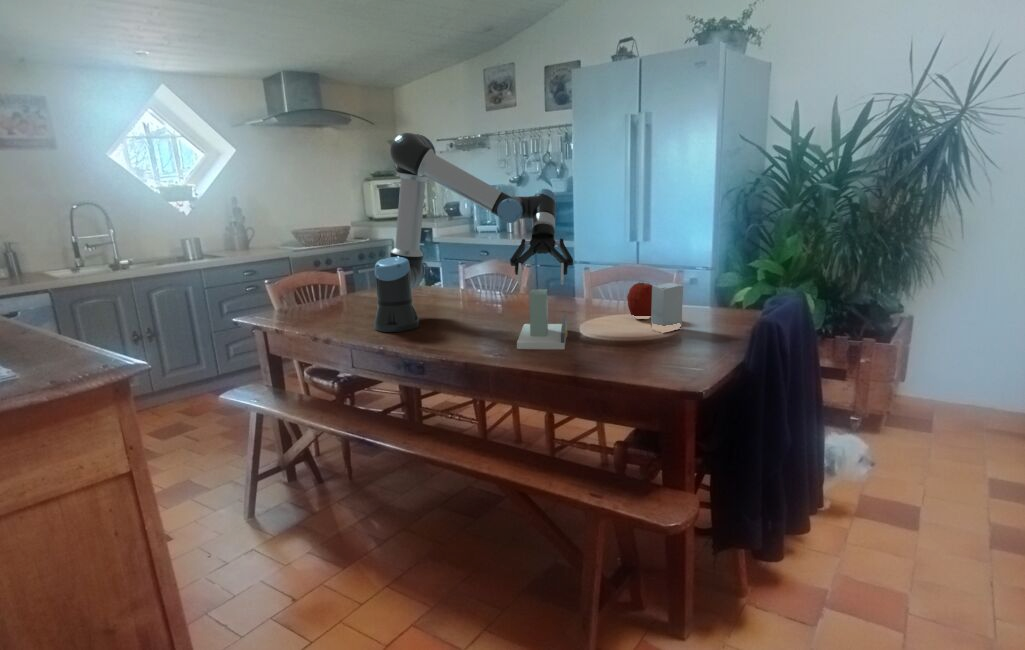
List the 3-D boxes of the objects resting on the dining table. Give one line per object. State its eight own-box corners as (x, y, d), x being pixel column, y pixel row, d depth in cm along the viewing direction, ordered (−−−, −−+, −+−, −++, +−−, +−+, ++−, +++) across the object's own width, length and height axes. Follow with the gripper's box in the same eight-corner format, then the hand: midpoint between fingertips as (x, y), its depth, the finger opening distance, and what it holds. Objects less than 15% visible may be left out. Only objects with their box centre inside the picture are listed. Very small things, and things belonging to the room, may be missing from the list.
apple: (626, 322, 201) (626, 282, 198) (627, 315, 210) (628, 277, 207) (657, 323, 199) (658, 282, 195) (657, 316, 208) (658, 277, 204)
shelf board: (516, 349, 175) (516, 332, 174) (524, 329, 196) (523, 315, 195) (566, 349, 173) (566, 332, 172) (568, 329, 194) (568, 315, 193)
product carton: (530, 336, 181) (529, 294, 177) (532, 329, 188) (531, 289, 185) (547, 336, 180) (546, 294, 177) (548, 329, 188) (547, 289, 185)
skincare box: (669, 326, 194) (670, 281, 191) (682, 330, 189) (684, 284, 186) (649, 330, 191) (650, 285, 187) (662, 334, 185) (664, 287, 182)
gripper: (581, 236, 198) (580, 288, 188) (507, 237, 202) (502, 288, 191) (580, 221, 192) (580, 275, 181) (504, 222, 195) (499, 275, 185)
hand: (540, 282), depth 186 cm, fingers open, 13 cm apart
